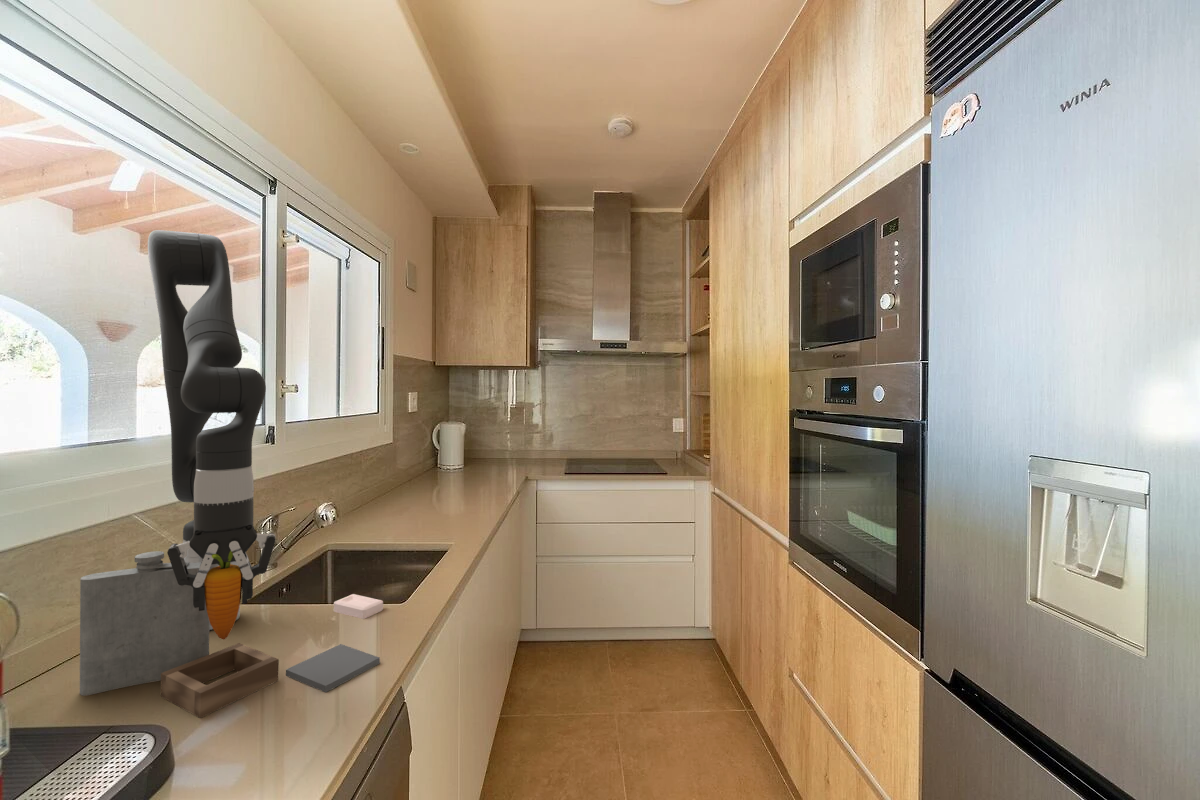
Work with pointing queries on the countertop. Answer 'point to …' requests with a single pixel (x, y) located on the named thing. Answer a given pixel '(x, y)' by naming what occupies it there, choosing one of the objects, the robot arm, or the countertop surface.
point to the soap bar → (358, 606)
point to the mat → (332, 667)
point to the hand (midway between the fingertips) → (224, 604)
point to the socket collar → (204, 699)
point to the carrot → (223, 595)
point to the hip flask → (138, 625)
